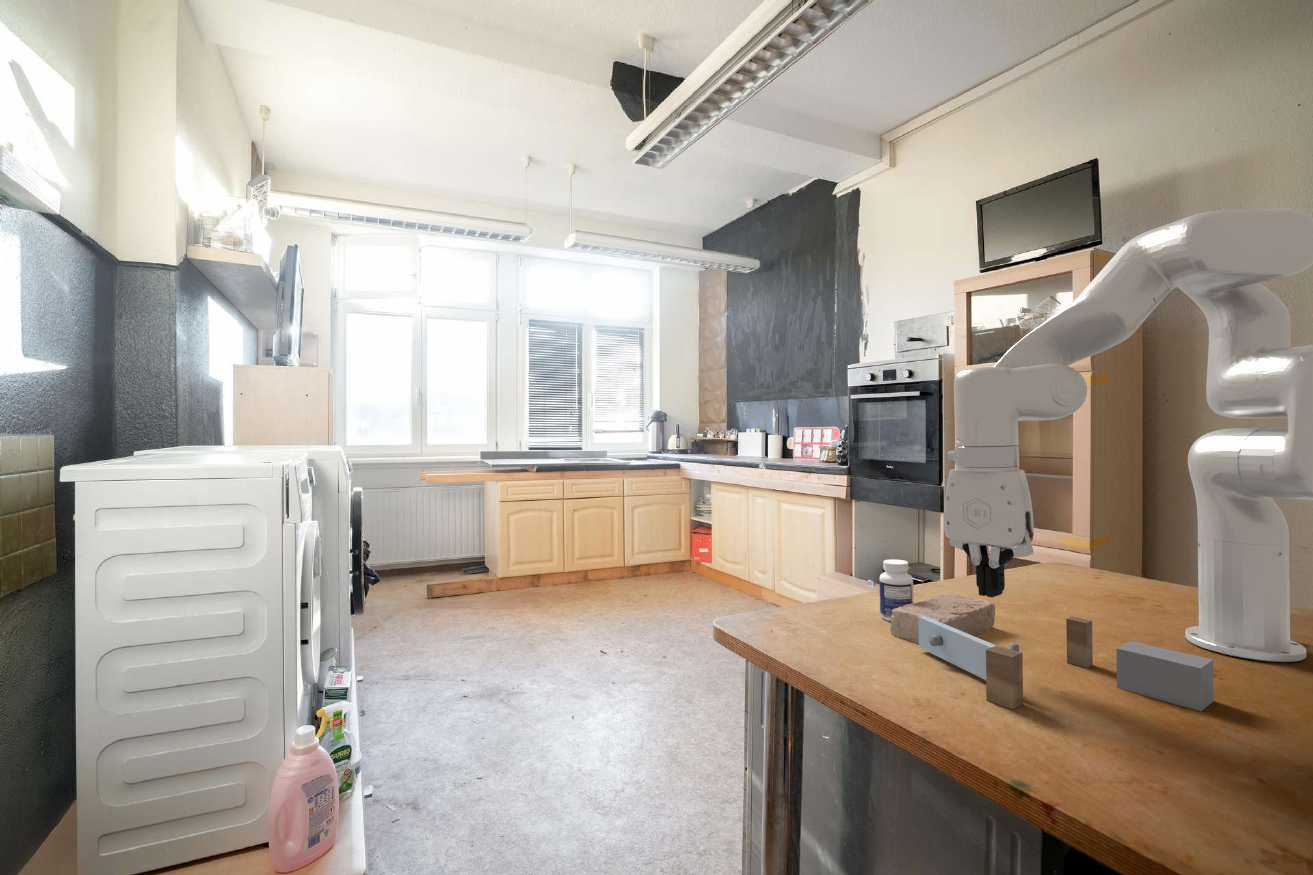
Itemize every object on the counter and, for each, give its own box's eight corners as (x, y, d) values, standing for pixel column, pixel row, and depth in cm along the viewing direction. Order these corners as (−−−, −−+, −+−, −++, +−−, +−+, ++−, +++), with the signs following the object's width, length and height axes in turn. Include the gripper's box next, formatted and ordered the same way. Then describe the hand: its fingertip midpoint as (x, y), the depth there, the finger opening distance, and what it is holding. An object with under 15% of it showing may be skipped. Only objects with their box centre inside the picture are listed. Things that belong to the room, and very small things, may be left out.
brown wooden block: (996, 694, 74) (996, 645, 74) (1023, 703, 71) (1022, 652, 71) (986, 699, 73) (985, 649, 73) (1012, 709, 70) (1012, 657, 70)
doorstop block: (1131, 679, 78) (1131, 640, 78) (1213, 702, 71) (1213, 659, 71) (1117, 688, 76) (1116, 648, 76) (1201, 712, 69) (1200, 668, 69)
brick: (936, 651, 90) (936, 619, 90) (887, 635, 97) (887, 606, 97) (997, 630, 99) (997, 601, 99) (948, 618, 106) (948, 590, 106)
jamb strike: (1072, 659, 85) (1072, 616, 85) (1092, 664, 83) (1092, 620, 83) (1066, 662, 84) (1066, 618, 84) (1086, 667, 82) (1086, 623, 82)
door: (1022, 695, 73) (1021, 645, 73) (1005, 697, 72) (1005, 647, 72) (926, 648, 89) (925, 607, 89) (911, 649, 89) (911, 608, 89)
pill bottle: (884, 611, 108) (884, 557, 108) (917, 616, 105) (916, 560, 105) (876, 619, 104) (875, 562, 104) (909, 625, 101) (908, 566, 101)
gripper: (919, 460, 87) (923, 588, 87) (1032, 462, 74) (1036, 612, 74) (949, 457, 91) (953, 580, 91) (1060, 459, 78) (1064, 601, 79)
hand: (990, 594), depth 83 cm, fingers closed
